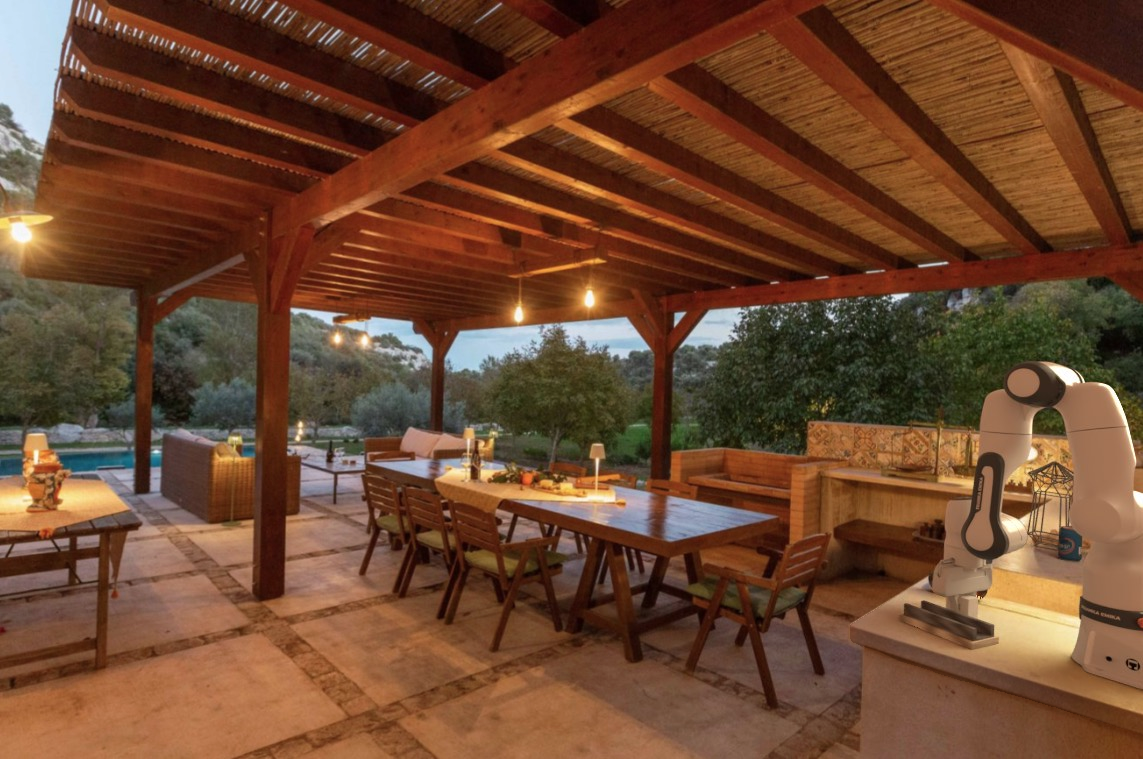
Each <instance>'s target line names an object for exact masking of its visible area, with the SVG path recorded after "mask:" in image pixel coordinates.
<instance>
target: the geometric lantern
mask: <svg viewBox="0 0 1143 759" xmlns="http://www.w3.org/2000/svg"><path fill="white" fill-rule="evenodd" d="M1051 468H1052V469H1051ZM1057 468H1058V470H1059V472H1060V473H1061V475H1060V474H1058V471H1057ZM1050 469H1051V473H1048V472H1049V471H1050ZM1039 473H1040V474H1039ZM1027 474H1028V475H1029V477H1030V478H1031V482H1032V493H1033V495H1032V501H1031V507H1030V508H1031V509H1030V514H1029V517H1028V518H1029V519H1028V525H1027V529H1026V530H1027V533H1028V537H1030V538H1031V539H1032V540H1033V541H1034V542H1035V543H1034V547H1036V548H1041V549H1046V550H1052V551H1057V552H1058V544H1055V543H1058V541H1059V539H1056V538H1051V537H1049V536H1047V537H1046V536H1042V534H1047V535H1053V536H1056V537H1057V536H1058V537H1059V533H1053V532H1047V531H1043V526H1044V519H1045V518H1044V516H1045V508H1046V498H1047V496H1049V497H1055V498H1059V517H1058V519H1059V522H1058V531H1059V530H1060V529H1061V526H1062V504H1063V499H1064V500H1065V510H1064V511H1065V512H1064V513H1065V526H1068V527H1070V521H1069V510H1070V507H1071V505H1072V503H1073V491H1072V492H1071V494H1070V491H1071V490H1072V489H1073V485H1072V486H1070V487H1069V489H1067V486H1066V485H1065V484H1067V483H1069V482H1072V483H1073V482H1074V471H1072V470H1070V469H1069V468H1067V467H1066V466H1064V465H1063V464H1061V463H1060V462H1059V461H1050V462H1049V463H1047V464H1045V465H1043V466H1040V467H1037V468H1036V469H1033V470H1030V471H1029V472H1027ZM1049 475H1050V476H1049ZM1038 476H1039V477H1038ZM1040 477H1041V478H1042V479H1041V478H1040ZM1044 478H1046V479H1050V482H1045V479H1044ZM1057 480H1058V481H1057ZM1038 481H1039V482H1040V483H1042V485H1041V486H1040V485H1039V483H1038ZM1035 482H1036V484H1037V486H1038V489H1037V490H1035ZM1056 484H1063V487H1064V488H1065V490H1066V491H1067V492H1066V493H1060V492H1059V490H1058V488H1057V487H1056V486H1055V485H1056ZM1044 485H1049V486H1047V488H1046V489H1045V490H1042V487H1043V486H1044ZM1052 486H1053V488H1054V490H1055V491H1056V492H1052V491H1048V490H1049V489H1050V488H1051V487H1052ZM1047 493H1049V494H1047ZM1053 494H1055V495H1053ZM1038 495H1039V496H1038ZM1042 496H1043V497H1044V498H1043V505H1042V515H1041V523H1040V530H1036V529H1037V524H1038V516H1039V511H1040V504H1041V497H1042ZM1037 497H1038V498H1037ZM1037 499H1038V501H1037ZM1036 506H1037V507H1036ZM1036 508H1037V509H1036ZM1032 515H1033V516H1032ZM1031 520H1032V521H1031ZM1031 523H1032V526H1031ZM1030 527H1032V529H1031V531H1030ZM1037 533H1039V534H1037ZM1036 537H1037V538H1036ZM1045 541H1049V542H1045ZM1050 542H1052V543H1050ZM1053 542H1054V544H1053ZM1039 545H1044V546H1039ZM1045 545H1046V546H1051V547H1056V548H1051V547H1045Z"/></svg>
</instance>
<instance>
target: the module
mask: <svg viewBox="0 0 1143 759" xmlns="http://www.w3.org/2000/svg"><path fill="white" fill-rule="evenodd" d="M957 601H958V604H960V610H958V611H956V612H959V613H962V614H965V615H968V616H971V617H973V618H976V619H979V618H978V615H979V612H978V611H979V600H978V598H977V597H974V596H971V595H968V594H959V595H958V598H957ZM945 608H948V609H951V608H950V601H949V599H948V597H945ZM953 611H954V610H953Z"/></svg>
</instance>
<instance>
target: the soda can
mask: <svg viewBox="0 0 1143 759" xmlns="http://www.w3.org/2000/svg"><path fill="white" fill-rule="evenodd" d="M1058 534H1059V536H1058V540H1059V541H1058V542H1057V545H1058V551H1057V555H1058V557H1059V559H1060V560H1063V561H1066V562H1072V563H1079V562H1080V561H1081V560H1082V558H1083V537H1082V536H1081V535H1079V534H1078V533H1077V532H1076V531H1075V530H1074V529H1073V527H1072V526H1069V527H1068V525H1067V526H1066V525H1065V526H1062V525H1061V529H1060V530H1059V529H1058Z"/></svg>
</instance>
